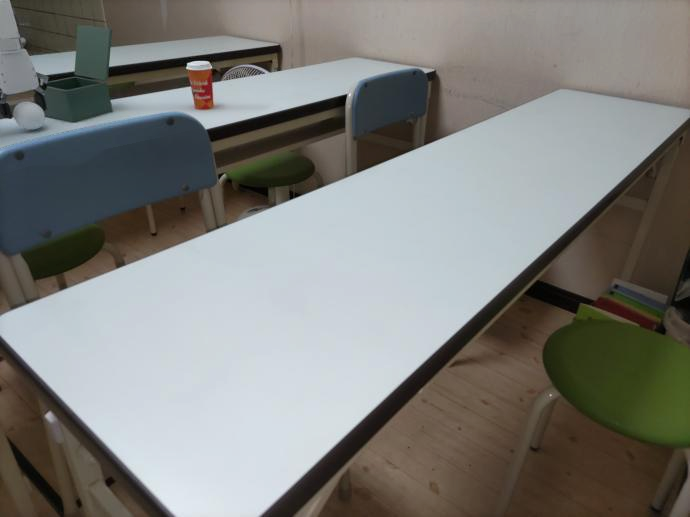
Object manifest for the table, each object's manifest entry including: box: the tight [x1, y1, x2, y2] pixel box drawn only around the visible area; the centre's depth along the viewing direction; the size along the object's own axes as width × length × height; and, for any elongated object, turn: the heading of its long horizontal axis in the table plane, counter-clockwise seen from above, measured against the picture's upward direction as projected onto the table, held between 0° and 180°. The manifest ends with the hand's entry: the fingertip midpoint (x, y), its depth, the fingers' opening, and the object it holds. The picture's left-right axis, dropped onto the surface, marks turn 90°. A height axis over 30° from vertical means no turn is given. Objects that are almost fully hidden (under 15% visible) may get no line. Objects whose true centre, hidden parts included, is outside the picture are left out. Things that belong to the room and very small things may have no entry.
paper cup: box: [185, 60, 215, 111], centre depth 157 cm, size 8×8×14 cm
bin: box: [39, 76, 114, 124], centre depth 150 cm, size 14×14×9 cm
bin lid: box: [74, 24, 113, 82], centre depth 151 cm, size 14×14×1 cm
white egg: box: [12, 100, 46, 131], centre depth 136 cm, size 10×7×7 cm
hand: (25, 113), depth 136 cm, fingers open, 9 cm apart
